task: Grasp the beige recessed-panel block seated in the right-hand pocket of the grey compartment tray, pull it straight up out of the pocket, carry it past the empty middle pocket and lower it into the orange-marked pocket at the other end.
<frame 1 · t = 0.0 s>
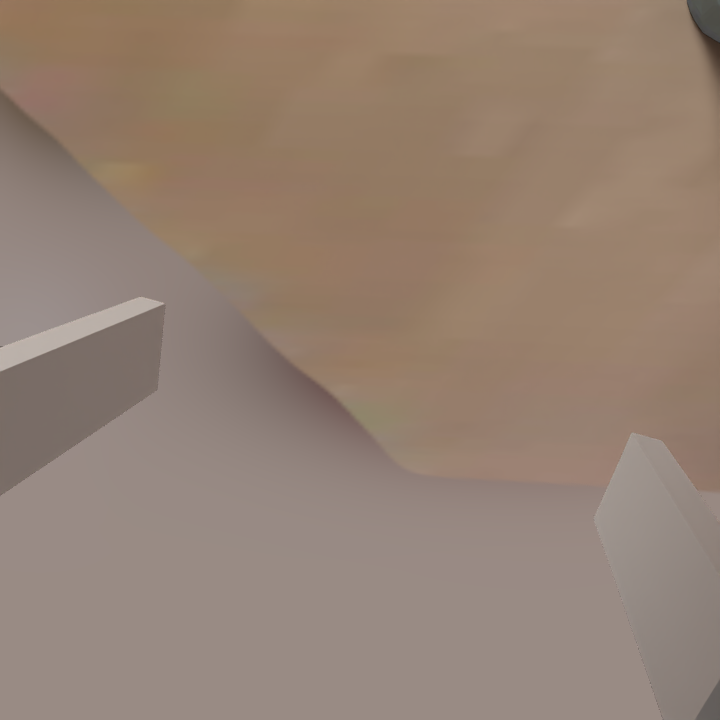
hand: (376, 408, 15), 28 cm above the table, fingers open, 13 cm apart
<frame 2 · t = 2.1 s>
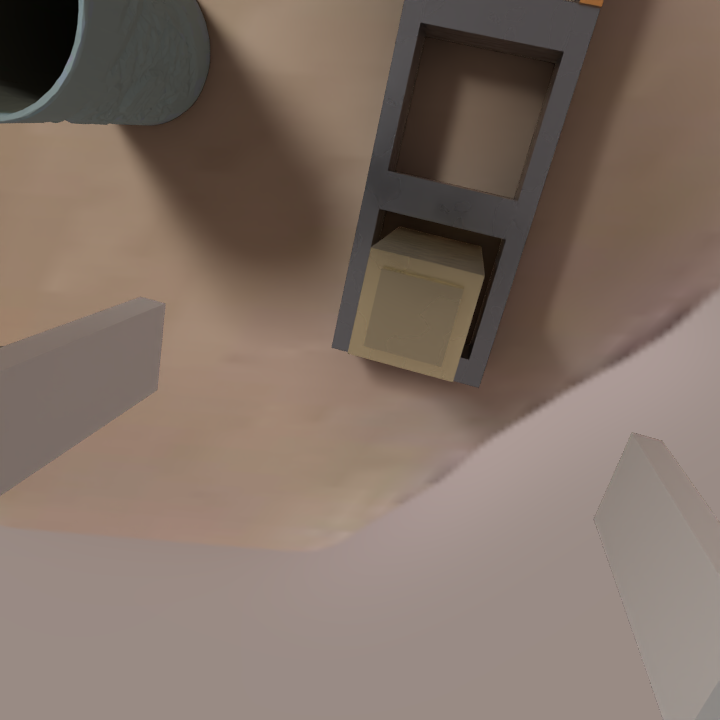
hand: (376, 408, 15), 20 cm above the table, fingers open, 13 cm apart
grey-green cup: (142, 47, 33), on the table
grey compartment tray: (471, 120, 31), on the table
beige recessed-panel block: (429, 276, 34), resting in grey compartment tray
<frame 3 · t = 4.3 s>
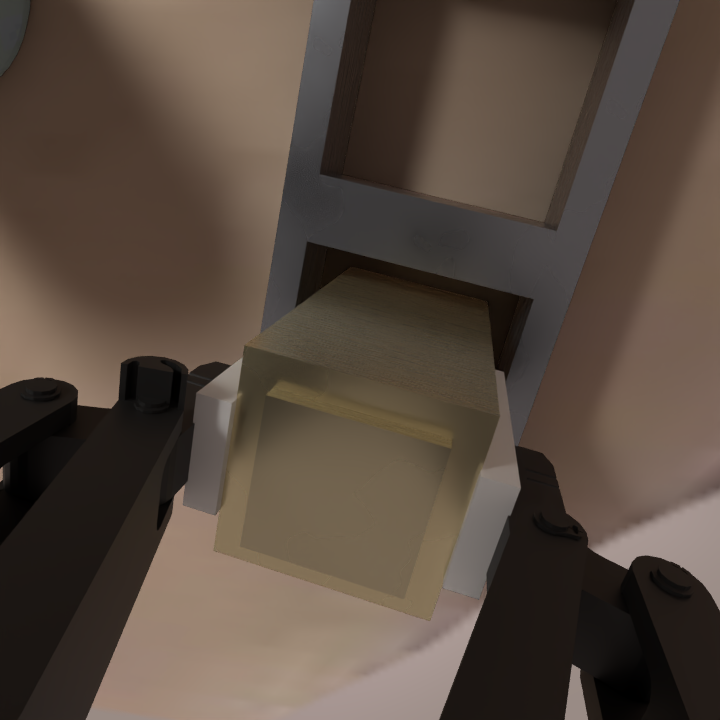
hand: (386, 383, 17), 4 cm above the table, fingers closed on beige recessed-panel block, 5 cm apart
grey compartment tray: (470, 85, 17), on the table
beige recessed-panel block: (401, 348, 21), resting in grey compartment tray, touching gripper
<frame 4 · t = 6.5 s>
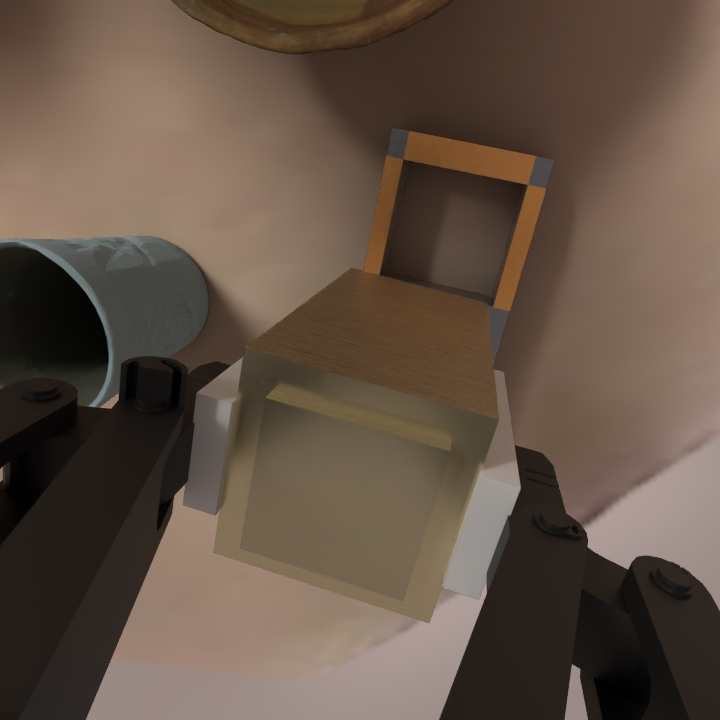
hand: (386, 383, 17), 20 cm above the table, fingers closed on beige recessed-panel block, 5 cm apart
grey-green cup: (154, 294, 41), on the table
grey compartment tray: (419, 362, 38), on the table
beige recessed-panel block: (401, 349, 21), point 16 cm above the table, touching gripper
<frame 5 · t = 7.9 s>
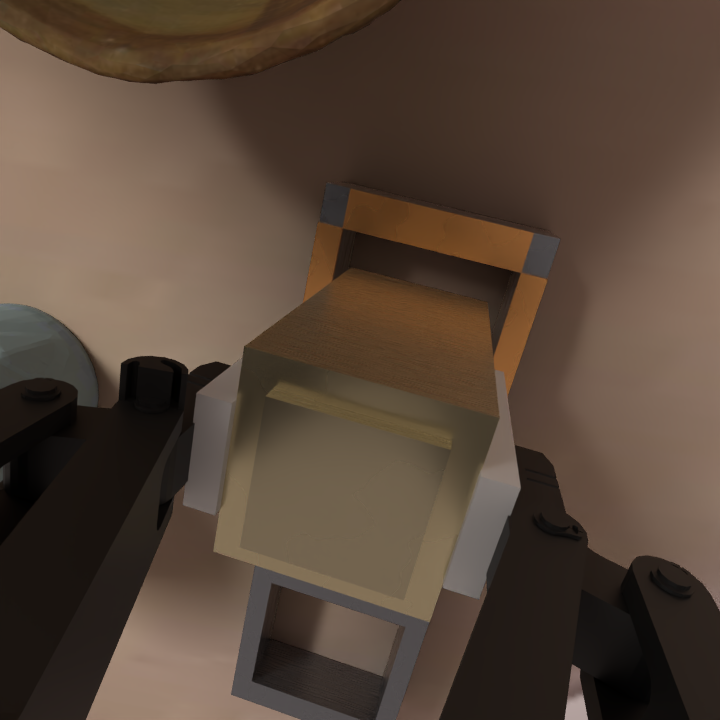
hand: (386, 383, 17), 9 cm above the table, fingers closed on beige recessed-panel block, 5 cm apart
grey-green cup: (28, 375, 31), on the table
grey compartment tray: (372, 481, 28), on the table
beige recessed-panel block: (401, 348, 21), point 5 cm above the table, touching gripper
when the fingers open (5 cm above the table, at t = 8.9 s): beige recessed-panel block drops 1 cm, resting in grey compartment tray.
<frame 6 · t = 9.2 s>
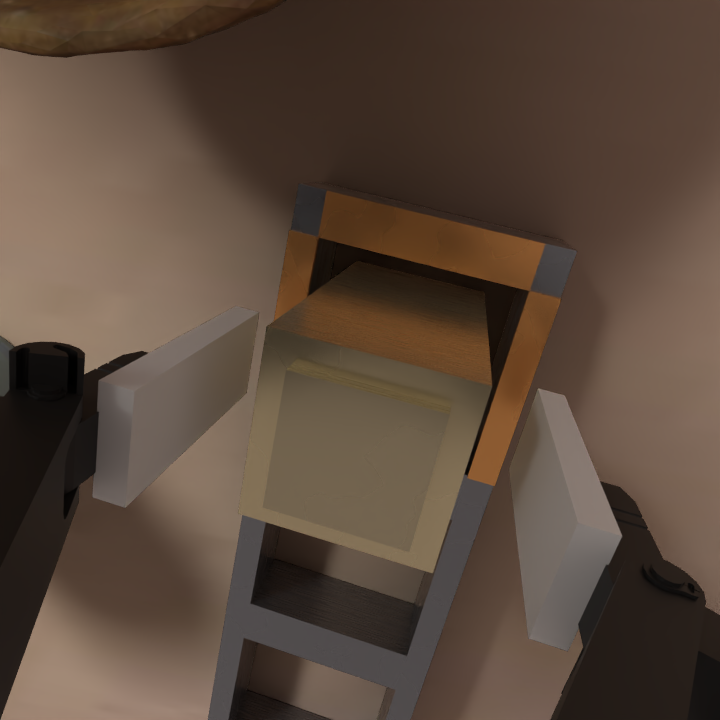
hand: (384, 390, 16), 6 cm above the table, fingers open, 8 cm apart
grey compartment tray: (358, 521, 25), on the table
beige recessed-panel block: (404, 337, 22), resting in grey compartment tray
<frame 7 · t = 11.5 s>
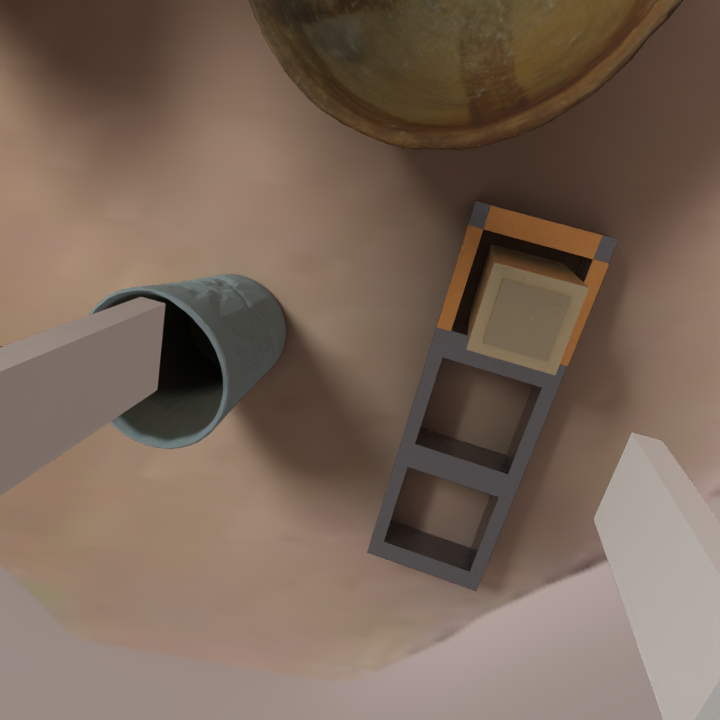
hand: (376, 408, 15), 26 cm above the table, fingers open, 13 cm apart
grey-green cup: (234, 325, 45), on the table
grey compartment tray: (476, 401, 42), on the table
beige recessed-panel block: (515, 288, 39), resting in grey compartment tray
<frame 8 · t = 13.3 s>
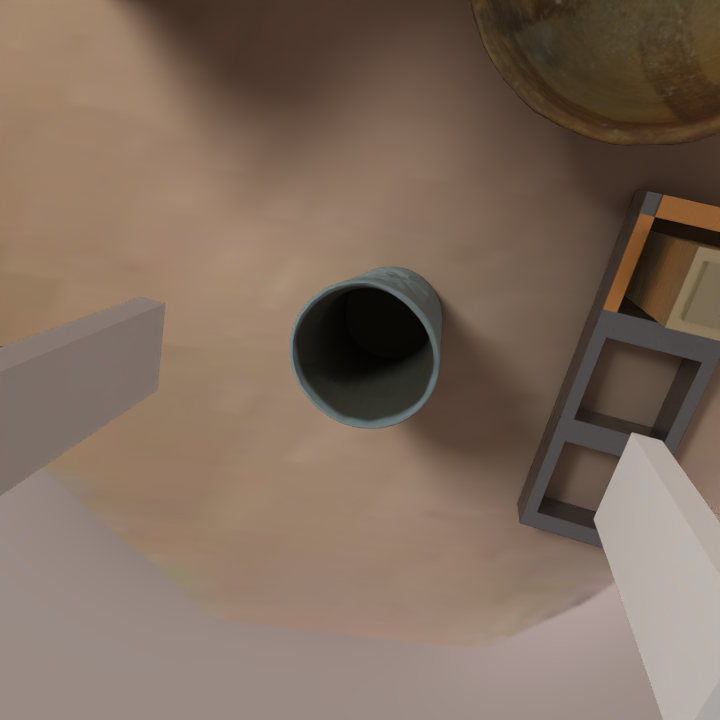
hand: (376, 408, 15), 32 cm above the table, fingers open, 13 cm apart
grey-green cup: (389, 314, 47), on the table
grey compartment tray: (625, 378, 45), on the table
beige recessed-panel block: (669, 271, 42), resting in grey compartment tray
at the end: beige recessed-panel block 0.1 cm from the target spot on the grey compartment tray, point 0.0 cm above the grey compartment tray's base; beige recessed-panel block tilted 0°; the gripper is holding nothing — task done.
